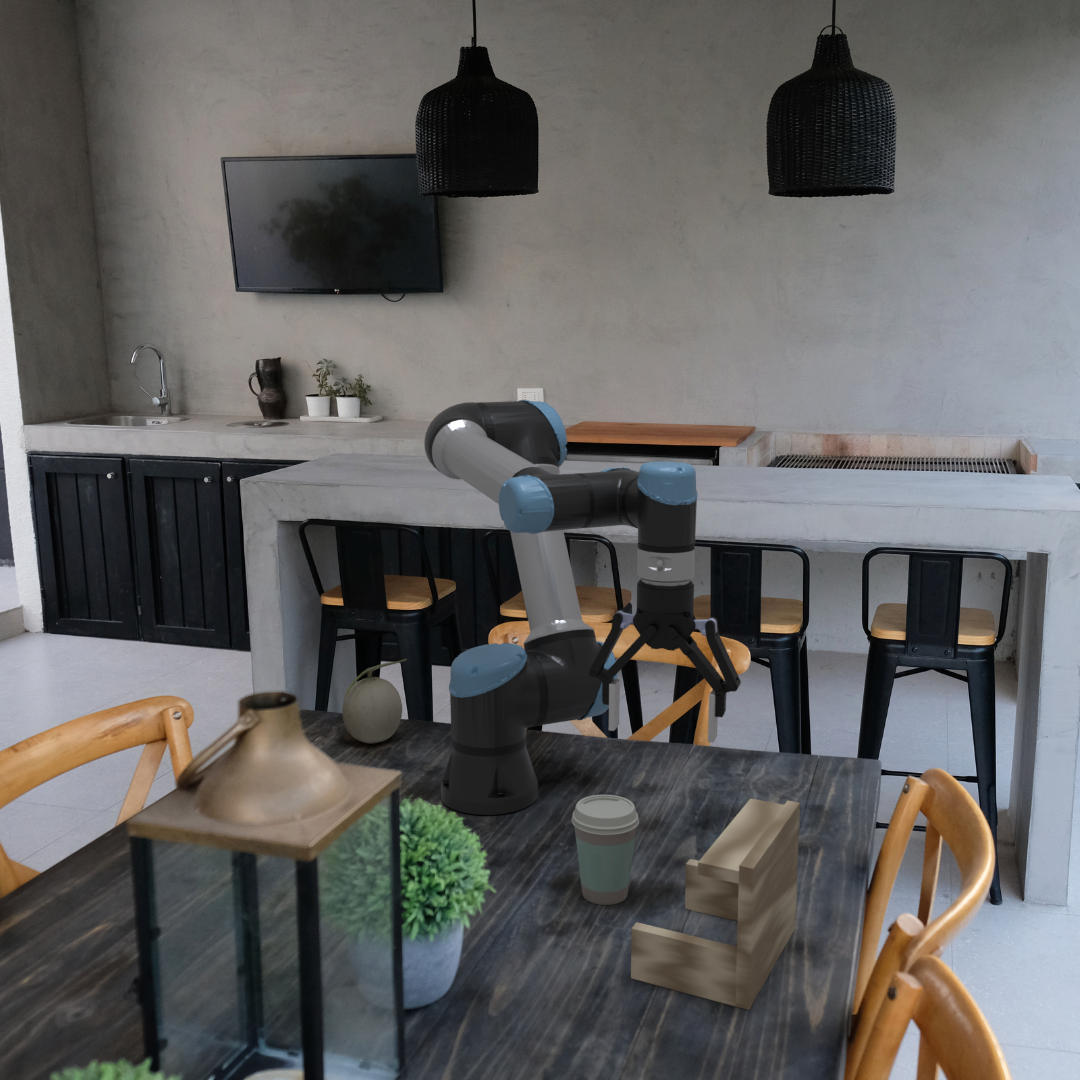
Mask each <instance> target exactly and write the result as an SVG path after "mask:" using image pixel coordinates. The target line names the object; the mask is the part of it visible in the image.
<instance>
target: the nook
mask: <svg viewBox="0 0 1080 1080" xmlns="http://www.w3.org/2000/svg"><path fill="white" fill-rule="evenodd" d="M800 809H801V802H797V801H793V800H786V802H785V803H784V804H781V803H777V802H772V801H766V800H761V799H756V798H755V799H754V798H750V799H749V800H748V801H747V802H746V803H745V805H743V807H742V808H741V809H740V811H739V812H738V813H736V816H735V817H734V818H732V819H731V821H730V823H729V824H728V825H727V827H726V828H725V829H724V830H723V831H722V832H721V834H720V835H719V836H718V837H717V838H716V839H715V841H714V842H713V843H712V844H711V846H710V847H709V849H707V851H705V853H704V854H703V856H702V857H701V858H700V859H699V860H696V859H692V858H690V859H688V860H687V862H686V863H685V895H684V897H685V898H684V900H685V901H684V905H685V906H684V909H685V910H688V911H689V910H690V911H694V912H697V913H701V914H706V915H711V916H714V917H719V918H723V919H727V920H731V921H734V922H735V921H737V933H736V936H737V937H736V938H737V939H736V945H731V944H729V943H723V942H718V941H715V940H710V939H707V938H703V937H699V936H695V935H690V934H686V933H683V932H678V931H674V930H670V929H666V928H662V927H658V926H654V925H649V924H645V923H640V922H635V923H634V924H633V926H632V927H631V929H630V931H631V936H630V938H631V940H630V941H631V942H630V944H631V947H630V951H631V953H630V979H633V980H636V981H639V982H644V983H647V984H651V985H654V986H658V987H663V988H666V989H670V990H674V991H677V992H680V993H684V994H687V995H691V996H695V997H699V998H703V999H707V1000H710V1001H713V1002H717V1003H720V1004H721V1003H722V1004H725V1005H729V1006H732V1007H737V1008H740V1009H742V1010H743V1009H745V1010H748V1011H749V1010H750V1009H751V1007H752V1005H753V1004H754V1003H755V1000H756V998H757V997H758V996H759V993H760V991H761V990H762V988H763V986H764V984H765V983H766V981H767V979H768V977H769V976H770V974H771V973H772V970H774V967H775V965H776V964H777V962H778V960H779V957H780V956H781V955H782V952H783V951H784V949H785V947H786V946H787V943H788V942H789V940H790V939H791V937H792V935H793V933H794V932H795V929H796V927H797V926H796V921H797V900H798V899H797V896H798V895H797V894H798V869H799V868H798V867H799V845H800V844H799V843H800V842H799V841H800V840H799V838H800V816H801V814H800V811H801V810H800Z"/></svg>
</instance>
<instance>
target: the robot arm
mask: <svg viewBox="0 0 1080 1080" xmlns="http://www.w3.org/2000/svg"><path fill="white" fill-rule="evenodd" d="M566 432H567V431H566V428H565V425H564V422H563V420H562V418H561V415H560V414H559V413H558V411H557V410H556V409H555V407H553V406H551V405H550V404H549V403H547V402H544V401H534V400H533V401H531V400H528V399H521V400H518V401H516V400H513V401H484V402H483V401H481V402H479V401H478V402H474V401H473V402H472V401H471V402H462V403H461V402H460V403H458V404H454V405H451V406H449V407H447V408H445V409H444V410H442V411H441V412H439V413H437V415H436V416H435V417H434V418H433V419H432V420H431V422H430V423H429V425H428V427H427V430H426V432H425V436H424V451H425V455H426V457H427V459H428V462H429V463H430V465H432V467H433V468H434V469H435V470H436V471H438V472H439V473H440V474H442V475H444V476H445V477H447V478H449V479H453V480H462V481H464V482H465V483H467V484H469V486H471V487H473V488H474V489H476V490H477V491H479V492H480V493H481V494H483V495H484V496H485V497H487V498H489V499H490V500H491V501H494V503H495V504H496V503H497V504H498V511H499V516H500V518H501V521H503V525H504V527H505V528H506V529H507V530H508V531H509V532H510V537H511V542H512V547H513V551H514V557H515V561H516V565H517V572H518V576H519V581H520V586H521V591H522V595H523V601H524V605H525V606H524V607H525V611H526V617H527V620H528V626H529V630H530V631H529V634H528V636H527V637H526V638H525V640H524V642H523V646H522V645H519V644H517V643H510V642H503V643H489V644H483V645H479V646H475V647H472V648H469V649H467V650H464V651H463V652H461V653H459V654H458V655H457V657H455V658H454V660H453V661H452V663H451V666H450V675H449V677H450V680H449V684H448V692H449V695H450V696H449V697H450V698H449V699H450V700H449V703H450V741H451V742H450V743H451V744H450V746H451V749H450V750H451V751H450V753H449V755H448V756H449V757H448V759H447V763H446V767H445V768H444V772H443V776H442V779H441V782H440V799H441V801H442V803H443V804H444V805H445V806H447V807H448V808H450V809H452V810H454V811H457V812H460V813H465V814H468V815H469V814H470V815H480V816H481V815H483V816H494V815H504V814H505V815H506V814H509V813H510V814H511V813H514V812H518V811H521V810H524V809H526V808H528V807H530V806H531V805H533V804H534V803H535V802H536V801H537V799H538V796H539V791H538V790H539V789H538V787H539V784H538V778H537V776H536V772H535V769H534V766H533V763H532V760H531V757H530V754H529V752H528V749H527V729H529V728H533V727H539V726H545V725H551V724H557V723H563V722H569V721H576V720H577V721H583V720H585V719H587V718H592V717H593V718H594V717H596V716H597V717H598V716H600V715H602V714H604V713H606V712H607V710H608V731H611V732H615V730H617V728H618V726H619V725H620V702H621V700H620V697H621V696H620V695H621V691H620V689H621V688H620V687H621V686H620V685H621V682H620V681H621V679H620V678H619V679H618V673H619V672H620V671H621V670H622V669H623V668H624V667H625V666H626V664H628V662H629V661H630V660H632V658H633V657H634V656H635V655H636V654H637V653H638V652H639V651H640V650H641V649H642V647H643V646H644V645H645V644H646V645H647V646H648V647H650V648H651V649H652V650H659V649H663V650H667V651H676V650H678V649H679V650H680V651H681V653H682V654H683V655H684V656H686V657H687V658H688V659H689V661H690V662H691V663H692V664H693V665H694V667H695V669H696V670H697V671H698V672H699V673H700V675H701V676H702V677H703V679H704V680H705V681H706V683H708V685H709V686H710V688H711V689H712V690H711V691H710V692H709V694H708V716H707V717H708V721H707V722H708V724H707V743H714V742H715V741H716V739H717V737H718V724H719V723H718V719H719V718H723V717H724V715H725V714H726V710H727V709H726V708H727V693H730V692H732V693H733V692H736V691H738V689H739V687H740V686H741V684H742V681H741V678H740V676H739V674H738V672H737V670H736V668H735V666H734V664H733V661H732V659H731V657H730V655H729V652H728V651H727V648H726V646H725V644H724V642H723V640H722V638H721V635H720V632H719V624H718V619H717V618H716V617H715V616H711V617H709V618H708V619H696V616H695V614H694V611H695V610H694V606H695V605H694V604H695V602H694V600H695V584H694V583H693V581H692V579H693V578H695V571H696V566H695V565H696V547H695V545H696V528H697V527H696V525H697V506H698V505H697V503H698V502H697V501H698V496H699V495H698V491H697V471H696V468H695V467H694V466H693V465H692V464H690V463H688V462H681V461H680V462H678V461H649V462H645V463H643V464H641V465H640V467H639V470H635V469H630V468H627V467H608V468H607V467H606V468H604V469H602V470H601V471H597V472H596V471H592V472H579V473H576V472H575V473H561V471H560V467H561V466H562V465H563V464H564V462H565V460H566V457H567V452H568V449H567V447H566V445H567V444H568V438H567V433H566ZM613 526H617V527H618V526H627V527H631V528H635V529H637V559H636V561H637V569H636V570H637V577H638V578H639V580H638V581H637V583H636V611H635V614H633V613H629V612H628V613H627V612H626V611H625V610H624V609H619V610H617V612H616V613H614V614H613V615H612V621H611V629H610V631H609V633H608V635H607V636H606V638H605V639H604V642H602V641H600V640H599V641H597V638H596V633H595V629H594V628H593V627H592V626H591V625H588V624H587V623H585V622H584V621H583V616H582V613H581V607H580V603H579V598H578V594H577V589H576V584H575V579H574V575H573V570H572V565H571V561H570V560H571V559H570V557H569V552H568V546H567V542H566V537H565V534H564V531H569V530H577V529H592V528H603V527H613ZM630 624H633V627H634V628H635V630H636V631H637V633H638V634H639V636H638V637H637V638H636V639H635V640H634V641H633V642H632V644H630V646H629V647H628V648H627V649H626V650H625V651H624V652H623V653H622V654H621V655H620V657H618V659H616V656H615V654H614V652H613V650H614V649H615V646H616V644H617V642H618V641H619V639H620V637H621V635H622V634H623V631H624V630H626V629H628V628H629V626H630ZM695 630H699V632H700V634H701V635H702V636H703V637H706V641H707V645H708V646H709V649H710V651H711V653H712V655H713V657H714V661H716V663H717V666H718V668H719V670H720V673H721V674H720V673H719V672H718V670H717V669H716V668H715V666H713V664H712V663H711V661H710V660H709V659H708V658H707V656H706V655H705V654H704V652H703V651H702V650H701V649H700V648H699V646H698V643H697V642H696V641H695V639H694V637H692V634H693V633H694V632H695ZM721 675H722V676H721Z"/></svg>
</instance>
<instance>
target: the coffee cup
mask: <svg viewBox="0 0 1080 1080" xmlns="http://www.w3.org/2000/svg"><path fill="white" fill-rule="evenodd" d="M574 807H575V808H574V810H573V812H572V817H571V823H572V825H573V826H574V834H575V842H576V851H577V858H578V859H577V860H578V868H579V877H580V885H581V892H582V893H581V895H582V896H583V898H584V900H586V901H587V902H589V903H592V904H594V905H595V904H597V905H602V906H610V905H616V904H617V905H618V904H620V903H622V902H624V901H625V900H626V899H627V897H628V896H629V895H628V894H629V887H630V879H631V871H632V866H633V865H632V864H633V856H634V849H635V841H636V834H637V833H636V832H637V827H638V826H639V824H640V819H639V813H638V812H637V810H636V807H635V803H634V802H633V801H631V800H630V799H628V798H625V797H622V796H619V795H614V794H596V795H595V794H594V795H590V796H586V797H582V798H581V799H579V800H578V801H577V803H576V805H575V806H574Z"/></svg>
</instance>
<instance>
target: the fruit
mask: <svg viewBox="0 0 1080 1080" xmlns="http://www.w3.org/2000/svg"><path fill="white" fill-rule="evenodd" d="M406 661H407V658H404V659H401V660H397V661H391V662H387V663H386V662H385V663H382V664H377V665H375V666H372V667H368V668H366V669H364V671H362V672H361V673H360V674H359V675H357V677H355V679H353V681H352V682H351V683H350V684H349V686H348V688H347V690H346V692H345V695H344V698H343V702H342V707H341V708H342V709H341V712H342V713H341V715H342V719H343V720H342V721H343V724H344V726H345V728H346V730H347V732H348V733H349V735H351V737H353V738H354V739H355V740H357V741H359V742H362V743H364V744H376V743H382V742H384V741H387V740H388V739H389V738H391V737H392V736H393V735H394V734H395V733H396V732H397V730H398V728H399V726H400V724H401V721H402V715H403V704H402V703H403V702H402V699H401V695H400V693H399V691H398V690H397V688H396V687H395V686H394V685H393V684H392V683H391V682H390V681H389V680H387V679H384V678H382V677H379V676H378V677H377V676H374V677H373V672H374V671H376V670H378V669H381V668H384V667H388V666H391V665H396V664H399V663H403V662H406ZM365 674H366V675H367V677H366V678H362V679H361V677H362V676H364V675H365ZM359 679H361V680H359Z"/></svg>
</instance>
